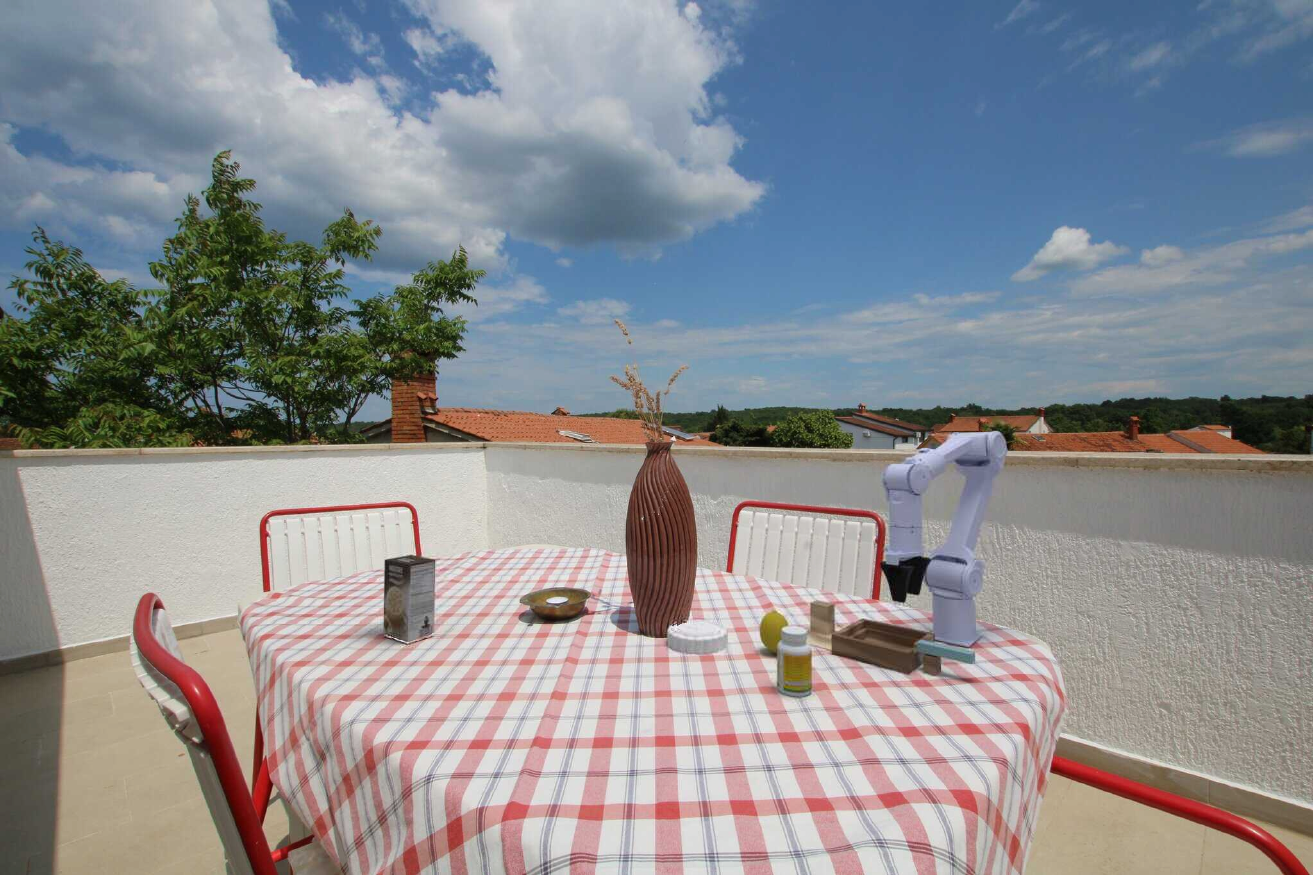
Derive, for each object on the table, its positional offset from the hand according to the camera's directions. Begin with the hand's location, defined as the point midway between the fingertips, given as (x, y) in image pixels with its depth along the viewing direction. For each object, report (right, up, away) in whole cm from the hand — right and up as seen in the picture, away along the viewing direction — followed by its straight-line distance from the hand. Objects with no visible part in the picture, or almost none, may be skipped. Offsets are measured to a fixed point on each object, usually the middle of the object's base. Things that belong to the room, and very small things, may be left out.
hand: (906, 597), depth 104 cm
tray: (-4, -10, -2) cm, 11 cm away
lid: (-14, -11, +8) cm, 20 cm away
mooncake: (-39, -11, +5) cm, 41 cm away
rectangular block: (+2, -7, -11) cm, 13 cm away
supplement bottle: (-26, -10, -17) cm, 32 cm away
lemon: (-25, -10, -1) cm, 27 cm away
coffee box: (-99, -11, +9) cm, 100 cm away
